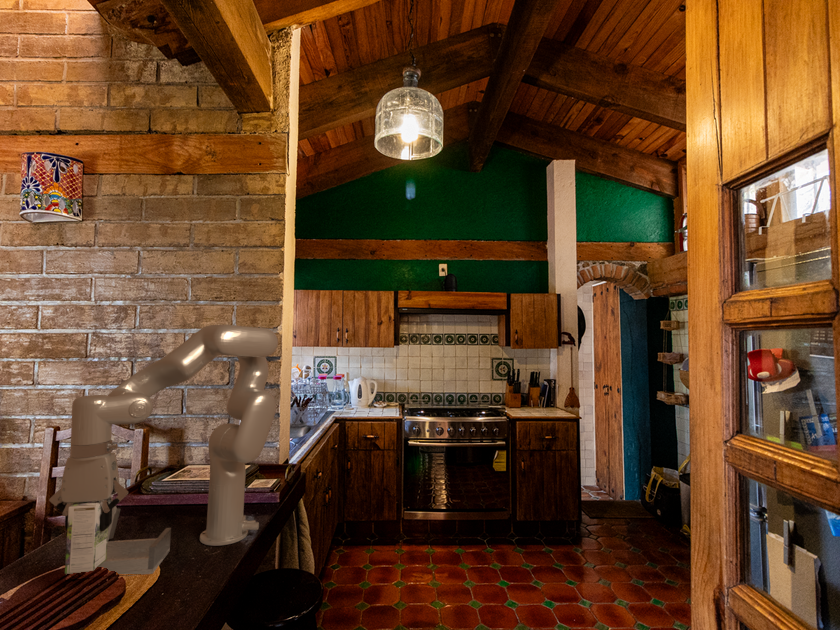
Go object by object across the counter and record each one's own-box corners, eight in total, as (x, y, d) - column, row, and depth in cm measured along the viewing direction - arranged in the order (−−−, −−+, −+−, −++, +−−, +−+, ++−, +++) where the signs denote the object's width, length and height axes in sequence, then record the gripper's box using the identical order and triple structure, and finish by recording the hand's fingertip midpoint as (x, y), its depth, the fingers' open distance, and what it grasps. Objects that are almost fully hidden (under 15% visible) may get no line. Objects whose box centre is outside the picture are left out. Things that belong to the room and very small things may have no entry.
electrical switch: (72, 542, 119) (78, 506, 121) (87, 536, 124) (93, 502, 126) (105, 544, 119) (110, 508, 120) (119, 538, 124) (124, 503, 125)
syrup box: (79, 563, 101) (82, 498, 103) (108, 560, 102) (109, 495, 104) (64, 575, 96) (66, 506, 97) (94, 571, 97) (96, 503, 98)
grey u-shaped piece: (169, 550, 116) (171, 527, 116) (152, 573, 104) (154, 547, 104) (92, 556, 112) (94, 531, 112) (65, 580, 100) (67, 553, 101)
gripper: (139, 443, 106) (137, 519, 105) (57, 448, 103) (54, 526, 102) (126, 451, 99) (123, 533, 98) (37, 456, 95) (33, 541, 94)
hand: (88, 529), depth 100 cm, fingers closed on syrup box, 6 cm apart
